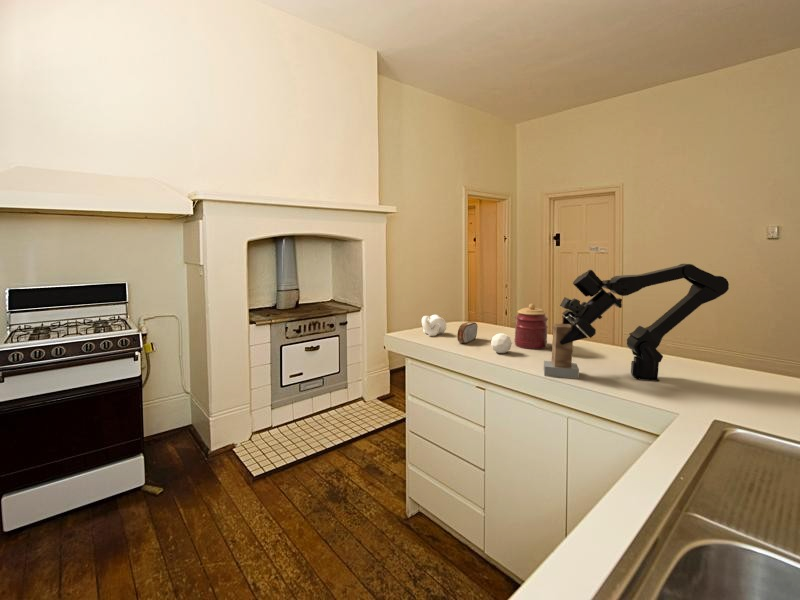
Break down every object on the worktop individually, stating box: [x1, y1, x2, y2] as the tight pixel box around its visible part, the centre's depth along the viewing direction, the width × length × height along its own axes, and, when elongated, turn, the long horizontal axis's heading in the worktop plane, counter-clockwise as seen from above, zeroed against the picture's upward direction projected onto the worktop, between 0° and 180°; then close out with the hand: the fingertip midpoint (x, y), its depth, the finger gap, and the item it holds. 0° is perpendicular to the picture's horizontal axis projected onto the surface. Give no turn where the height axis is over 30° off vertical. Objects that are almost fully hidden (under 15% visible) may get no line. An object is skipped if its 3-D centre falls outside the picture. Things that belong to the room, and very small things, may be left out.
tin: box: [456, 321, 479, 344], centre depth 176 cm, size 15×3×8 cm, turn 144°
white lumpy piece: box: [421, 314, 448, 337], centre depth 190 cm, size 11×12×9 cm
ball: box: [490, 333, 513, 354], centre depth 157 cm, size 8×8×8 cm
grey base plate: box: [543, 360, 580, 380], centre depth 131 cm, size 10×7×3 cm
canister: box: [514, 303, 549, 350], centre depth 167 cm, size 13×13×18 cm
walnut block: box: [551, 323, 574, 368], centre depth 130 cm, size 5×5×13 cm
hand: (557, 340), depth 130 cm, fingers open, 8 cm apart
